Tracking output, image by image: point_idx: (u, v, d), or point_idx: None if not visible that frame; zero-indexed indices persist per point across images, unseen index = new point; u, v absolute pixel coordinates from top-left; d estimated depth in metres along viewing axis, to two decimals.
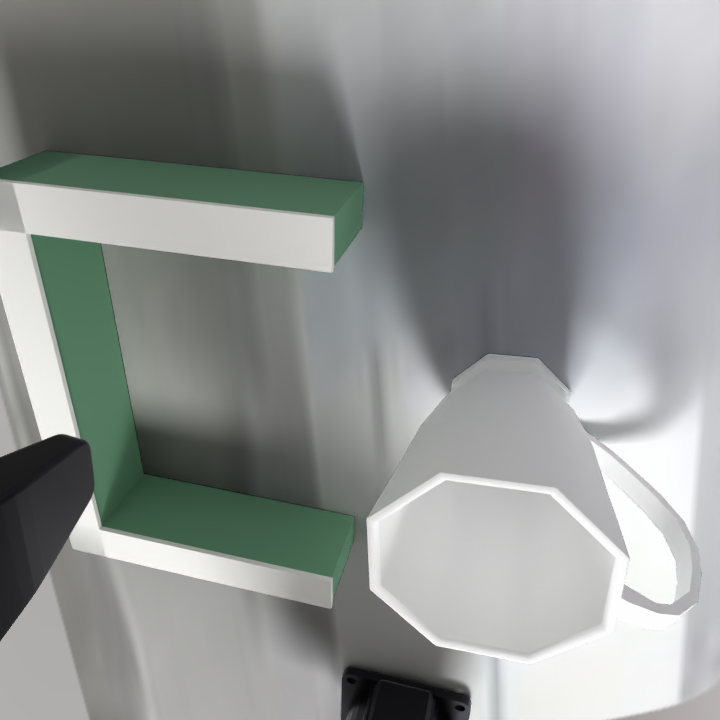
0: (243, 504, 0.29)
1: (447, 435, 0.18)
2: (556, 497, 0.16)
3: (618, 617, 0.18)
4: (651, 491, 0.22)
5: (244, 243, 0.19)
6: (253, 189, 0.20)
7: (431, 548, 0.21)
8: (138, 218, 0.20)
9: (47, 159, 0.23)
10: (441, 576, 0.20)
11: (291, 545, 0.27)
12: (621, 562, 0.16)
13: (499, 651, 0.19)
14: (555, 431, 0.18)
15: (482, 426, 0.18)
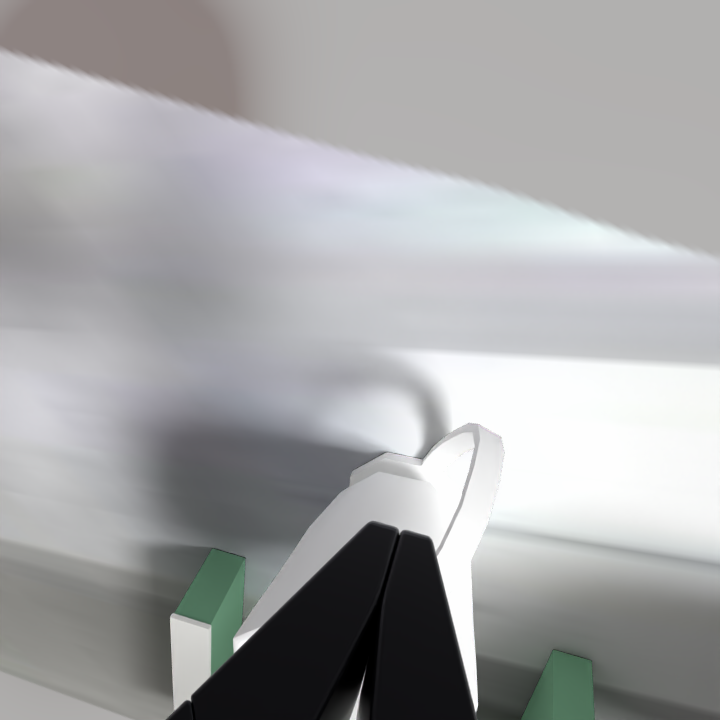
0: None
1: None
2: (240, 642, 0.18)
3: None
4: (462, 432, 0.20)
5: (195, 666, 0.27)
6: None
7: None
8: None
9: None
10: None
11: None
12: None
13: None
14: (293, 556, 0.20)
15: None
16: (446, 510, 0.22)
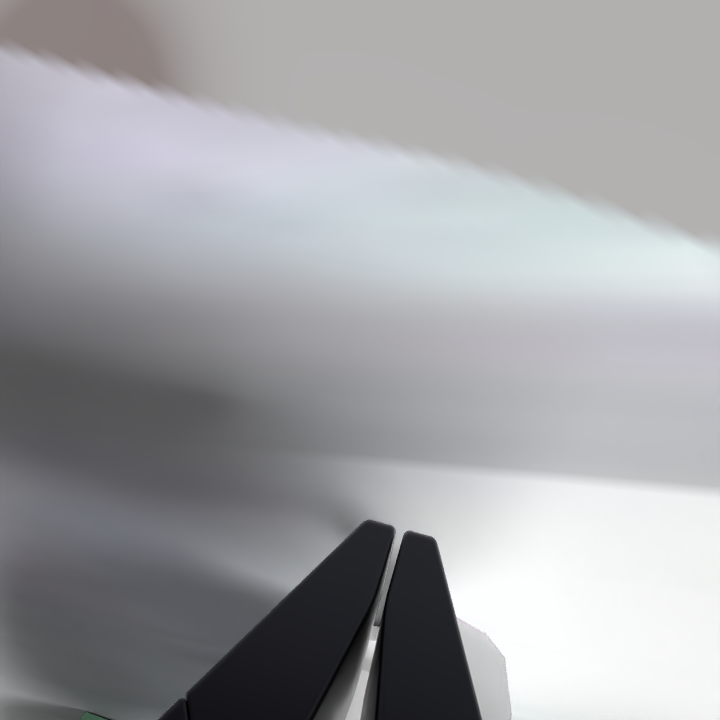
0: None
1: None
2: None
3: None
4: None
5: None
6: None
7: None
8: None
9: None
10: None
11: None
12: None
13: None
14: None
15: None
16: None
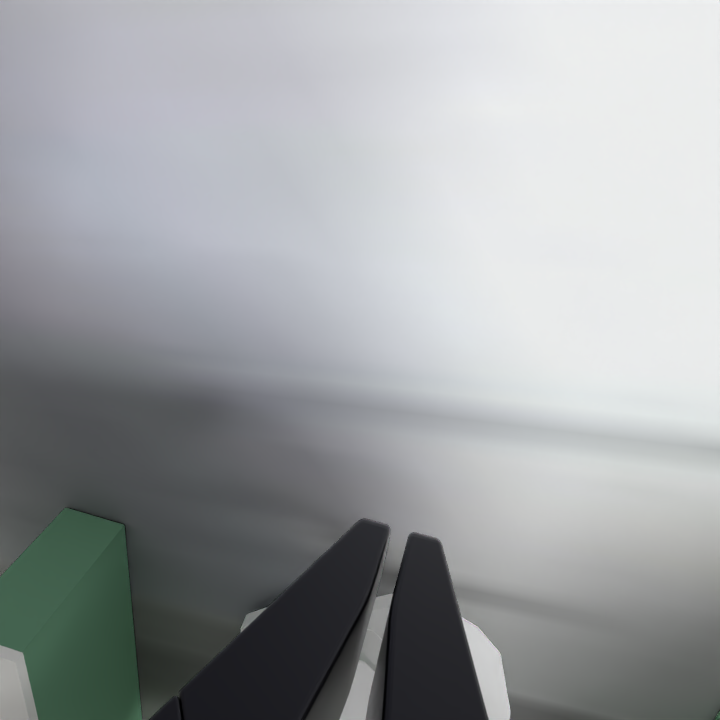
0: None
1: None
2: None
3: None
4: None
5: None
6: None
7: None
8: None
9: None
10: None
11: None
12: None
13: None
14: None
15: None
16: None
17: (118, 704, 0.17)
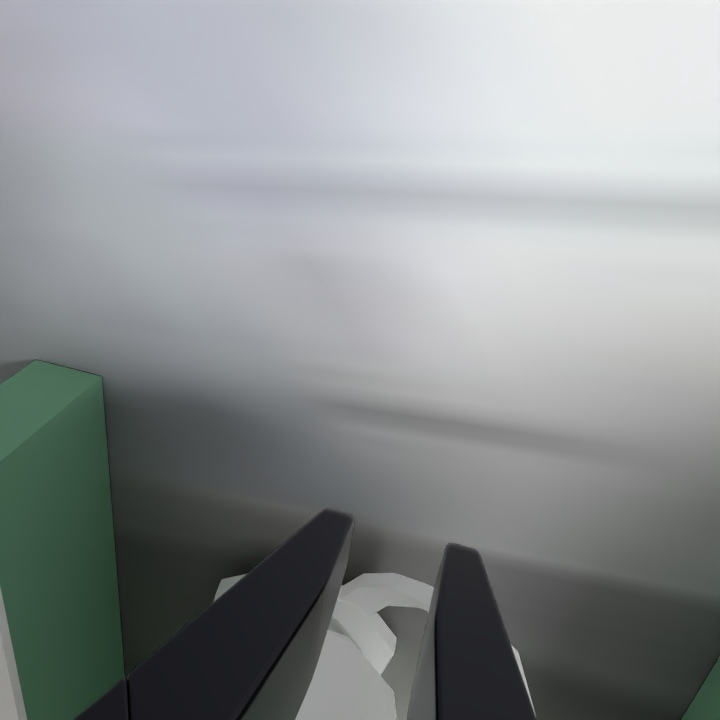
0: None
1: None
2: None
3: None
4: None
5: None
6: None
7: None
8: None
9: None
10: None
11: None
12: None
13: None
14: None
15: None
16: (374, 695, 0.13)
17: (94, 598, 0.15)
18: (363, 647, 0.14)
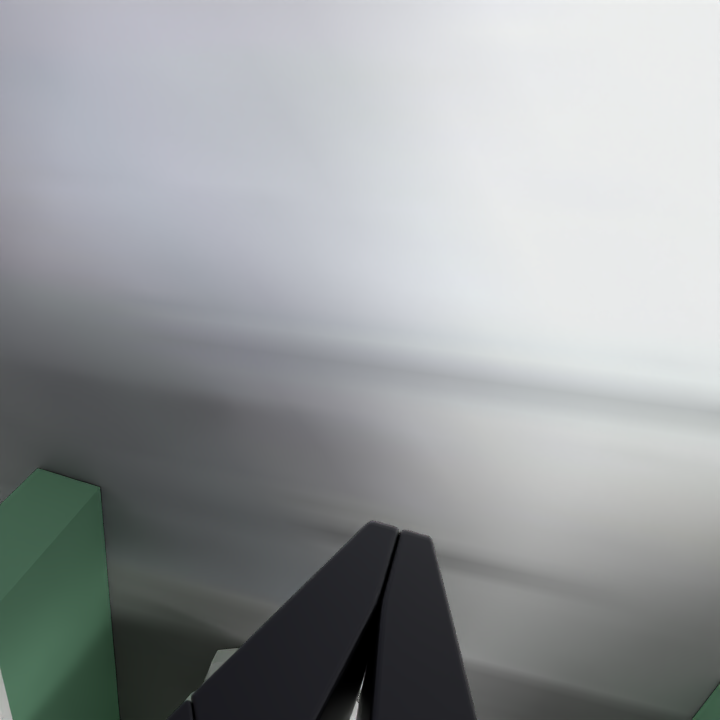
0: None
1: None
2: None
3: None
4: None
5: None
6: None
7: None
8: None
9: None
10: None
11: None
12: None
13: None
14: None
15: None
16: None
17: (92, 674, 0.17)
18: None
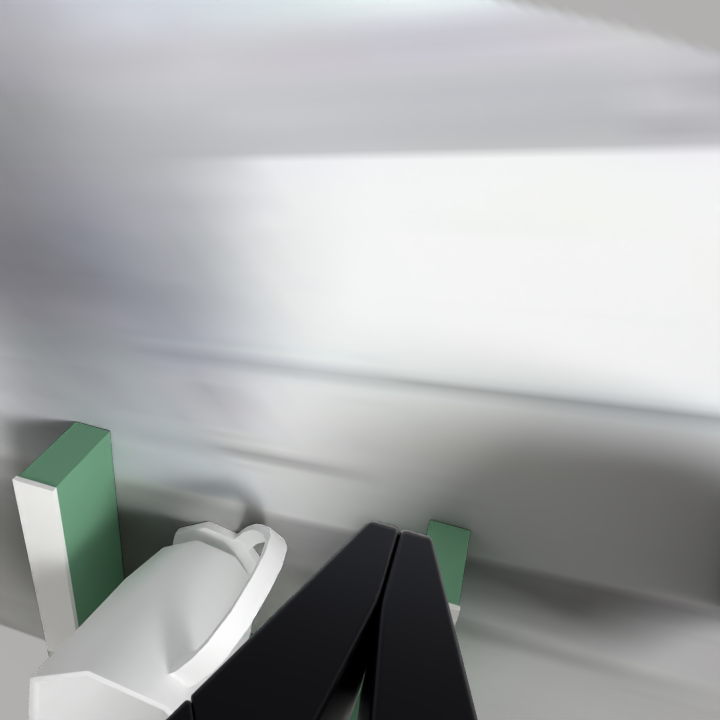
0: None
1: None
2: (35, 681, 0.21)
3: (195, 681, 0.21)
4: (262, 531, 0.25)
5: (47, 538, 0.25)
6: None
7: None
8: (49, 593, 0.27)
9: None
10: None
11: None
12: (89, 676, 0.21)
13: None
14: (102, 607, 0.24)
15: None
16: (243, 583, 0.26)
17: (107, 544, 0.29)
18: (247, 568, 0.28)
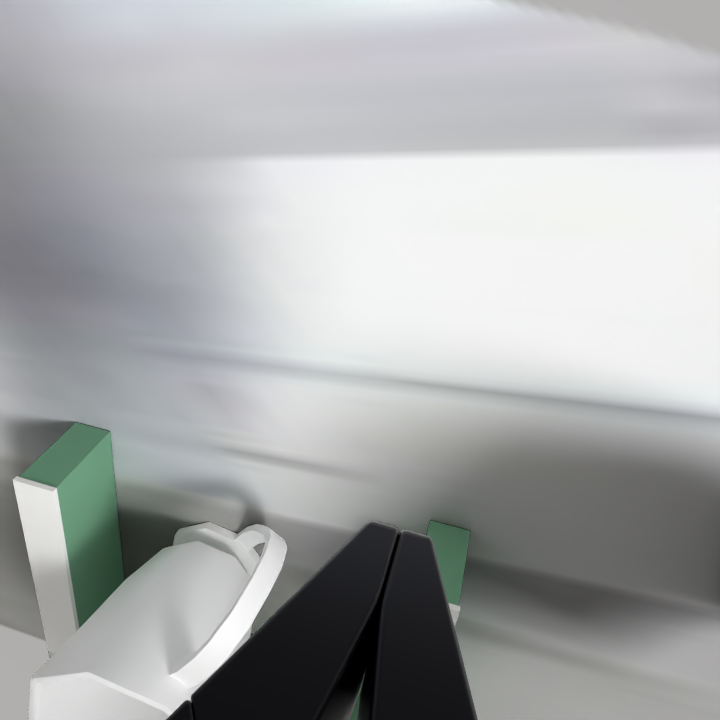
0: None
1: None
2: (35, 683, 0.22)
3: (195, 682, 0.21)
4: (262, 532, 0.25)
5: (47, 539, 0.25)
6: None
7: None
8: (49, 594, 0.27)
9: None
10: None
11: None
12: (89, 677, 0.21)
13: None
14: (102, 608, 0.24)
15: None
16: (243, 584, 0.26)
17: (107, 544, 0.29)
18: (248, 569, 0.28)
